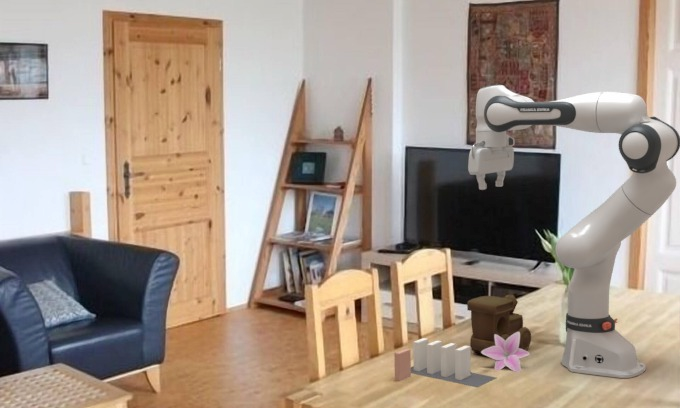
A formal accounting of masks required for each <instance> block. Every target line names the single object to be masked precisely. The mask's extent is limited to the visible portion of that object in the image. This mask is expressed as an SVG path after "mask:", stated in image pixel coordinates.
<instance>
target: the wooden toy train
mask: <svg viewBox="0 0 680 408" xmlns="http://www.w3.org/2000/svg"><path fill="white" fill-rule="evenodd" d="M466 302H467V303H466V304H467V306H466V307H467V311H469V312H470V320H471V330H472V331H471V332H472V334H471V337H470V339H469V340H470V341H469V344H470V345H469V346H470V350H471V351H472V352H473V353H475V354H481V351H482V350H484V349H486V348H489V347H491V346H496V345H495V339H494V335H495V334H497V335H499V336H500V337H502V338H503V339H504V340H506V339H507V338H508V337H510V336H511V335H513V334H514V333H516V332H520V342H519V348H521V349H523V350H526V351H527V349H529V347H530V344H531V342H532V334H531V331H530V329H529V328H528V327H526V326H524V325H523V324H524V319H523V318H524V317H523V315H522V314H519V313H517V312H516V313H515V309H516V307H517V304H518V302H519V301H518V299H517V298H516V297H515V295H513V294H507V295H505V296H504V297H501V296H496V295H495V296H494V295H484V296H478V297H475V298H472V299H469V300H468V301H466Z"/></svg>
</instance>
